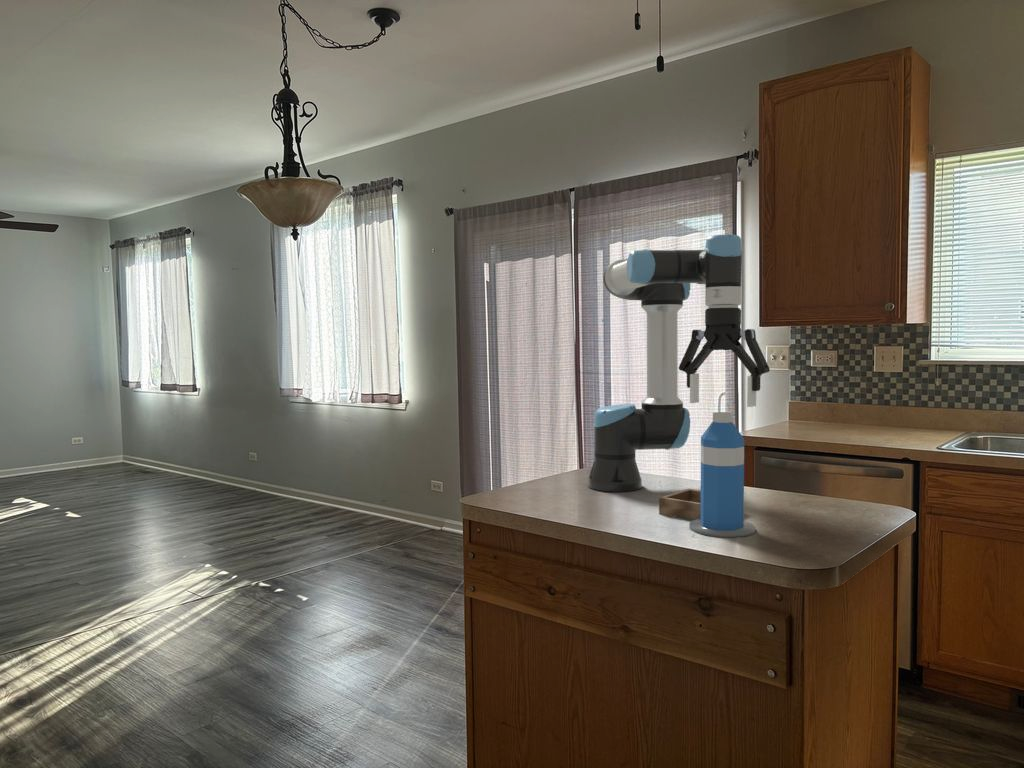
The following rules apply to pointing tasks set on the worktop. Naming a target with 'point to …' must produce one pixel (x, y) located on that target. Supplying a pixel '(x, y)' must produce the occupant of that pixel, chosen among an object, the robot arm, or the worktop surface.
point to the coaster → (742, 532)
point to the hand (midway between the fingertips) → (722, 404)
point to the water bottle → (722, 475)
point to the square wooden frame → (682, 504)
